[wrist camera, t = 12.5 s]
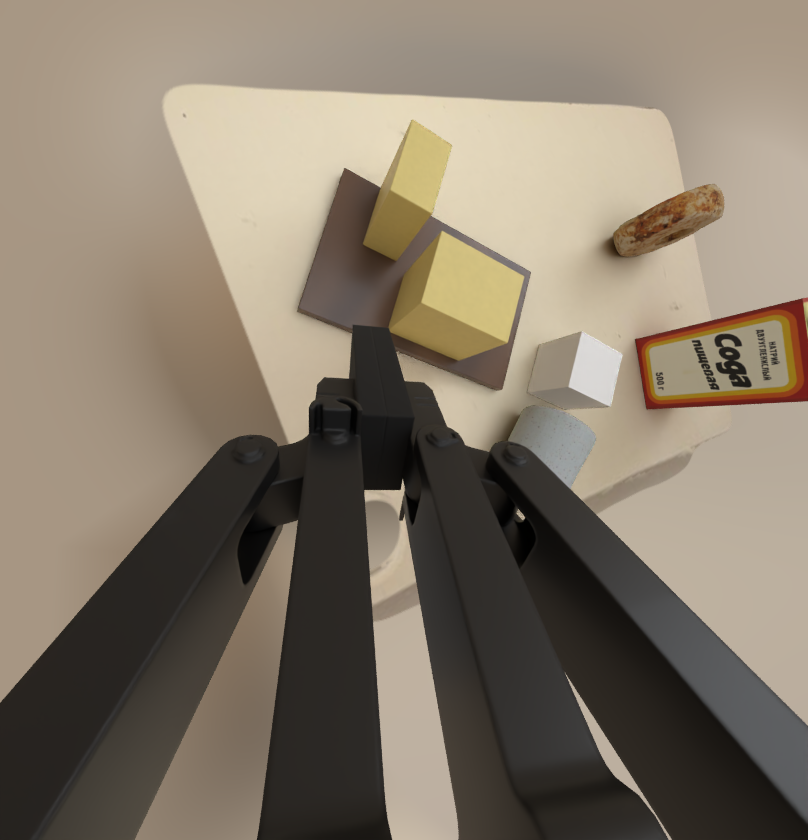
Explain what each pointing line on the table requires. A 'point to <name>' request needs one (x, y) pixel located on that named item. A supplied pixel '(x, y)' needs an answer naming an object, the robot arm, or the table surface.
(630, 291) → the table surface
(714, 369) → the baking soda box
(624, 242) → the stone disc
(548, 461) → the ceramic mug
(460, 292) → the butter block
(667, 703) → the robot arm
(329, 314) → the butter board
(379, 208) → the block
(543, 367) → the white cube
